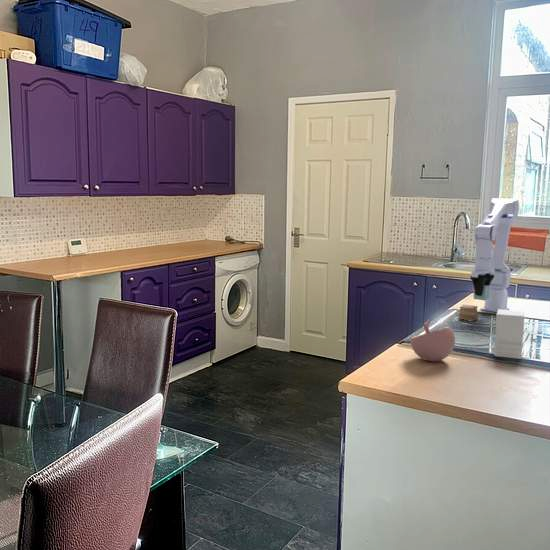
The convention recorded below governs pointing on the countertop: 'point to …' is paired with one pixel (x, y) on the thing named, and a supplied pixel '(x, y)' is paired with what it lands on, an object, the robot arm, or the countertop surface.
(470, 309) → the tower top
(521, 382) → the countertop surface
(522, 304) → the countertop surface
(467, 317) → the tower base
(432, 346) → the pink apple
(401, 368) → the countertop surface
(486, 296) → the teal block
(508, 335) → the supplement box
